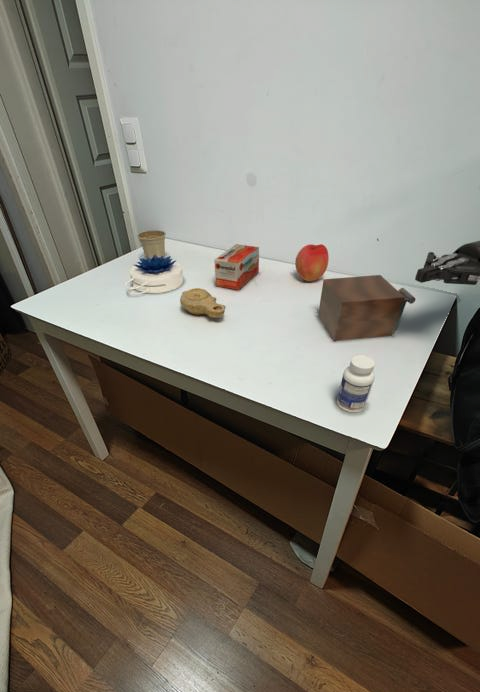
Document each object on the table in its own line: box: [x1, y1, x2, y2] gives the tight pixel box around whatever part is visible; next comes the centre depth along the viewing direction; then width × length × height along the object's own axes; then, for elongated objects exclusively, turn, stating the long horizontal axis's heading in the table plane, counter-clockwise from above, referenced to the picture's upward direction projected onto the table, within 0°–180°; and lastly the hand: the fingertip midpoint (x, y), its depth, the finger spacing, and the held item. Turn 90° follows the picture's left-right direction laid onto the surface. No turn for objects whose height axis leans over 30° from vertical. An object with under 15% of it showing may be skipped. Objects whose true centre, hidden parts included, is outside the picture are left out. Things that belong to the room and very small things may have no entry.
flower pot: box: [136, 229, 167, 260], centre depth 116 cm, size 9×9×9 cm
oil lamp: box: [179, 287, 227, 319], centre depth 90 cm, size 11×14×5 cm
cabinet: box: [317, 274, 405, 342], centre depth 83 cm, size 15×13×10 cm
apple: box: [294, 243, 330, 282], centre depth 102 cm, size 10×10×10 cm
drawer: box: [393, 287, 416, 332], centre depth 83 cm, size 18×11×8 cm, turn 99°
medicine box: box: [213, 243, 260, 291], centre depth 104 cm, size 15×8×8 cm, turn 155°
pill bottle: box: [336, 354, 376, 413], centre depth 62 cm, size 5×5×10 cm
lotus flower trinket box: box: [124, 255, 184, 295], centre depth 102 cm, size 7×16×20 cm
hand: (419, 276), depth 66 cm, fingers closed
